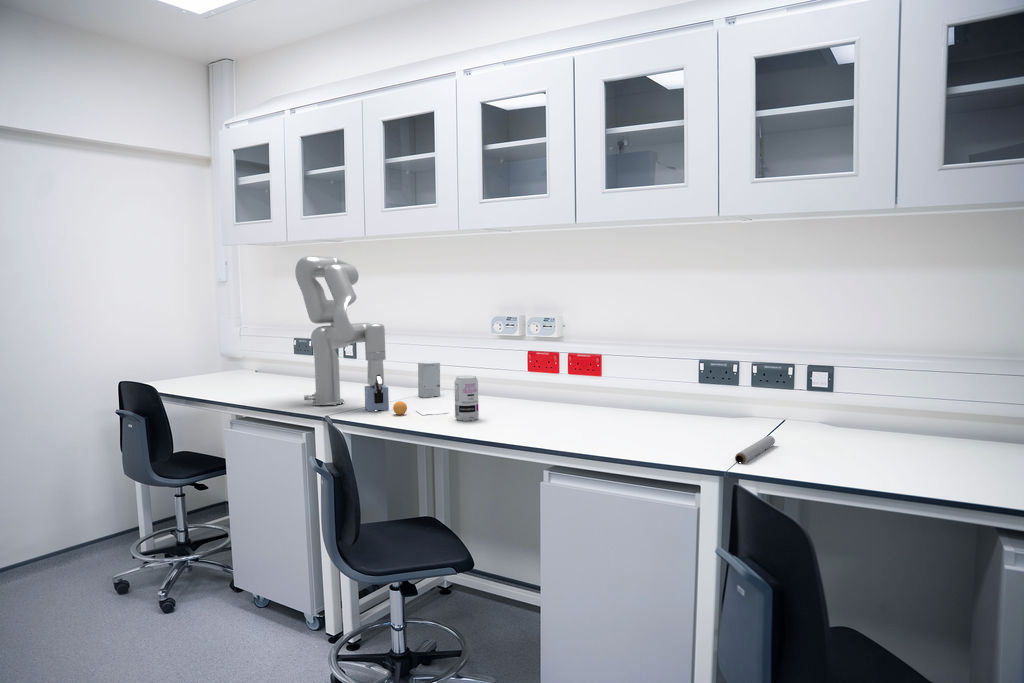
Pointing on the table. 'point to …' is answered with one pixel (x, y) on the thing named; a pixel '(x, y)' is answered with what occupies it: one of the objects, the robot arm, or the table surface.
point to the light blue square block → (370, 399)
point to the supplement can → (466, 398)
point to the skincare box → (428, 379)
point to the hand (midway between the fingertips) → (377, 401)
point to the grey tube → (754, 449)
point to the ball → (400, 407)
